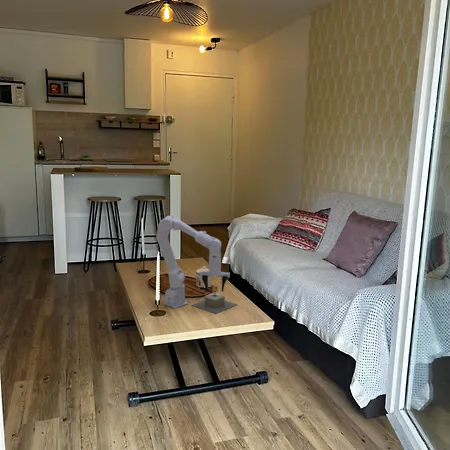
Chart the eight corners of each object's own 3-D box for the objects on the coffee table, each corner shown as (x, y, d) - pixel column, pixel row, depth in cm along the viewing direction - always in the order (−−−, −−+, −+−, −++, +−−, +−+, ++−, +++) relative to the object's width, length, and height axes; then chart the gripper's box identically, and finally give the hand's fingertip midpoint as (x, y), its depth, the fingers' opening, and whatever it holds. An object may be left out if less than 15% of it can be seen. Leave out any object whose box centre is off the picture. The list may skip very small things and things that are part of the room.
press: (215, 313, 213) (215, 303, 213) (191, 305, 224) (191, 296, 223) (237, 305, 225) (237, 295, 224) (213, 297, 236) (213, 288, 235)
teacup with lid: (193, 285, 256) (193, 265, 254) (209, 283, 259) (209, 263, 257) (199, 291, 245) (199, 270, 243) (215, 290, 248) (215, 269, 246)
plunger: (214, 300, 220) (215, 289, 219) (207, 298, 224) (207, 286, 223) (221, 298, 224) (221, 286, 223) (214, 295, 227) (214, 284, 226)
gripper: (198, 265, 217) (198, 292, 220) (229, 266, 216) (228, 293, 219) (201, 261, 224) (201, 288, 227) (230, 262, 223) (229, 289, 226)
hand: (214, 290), depth 223 cm, fingers open, 7 cm apart
